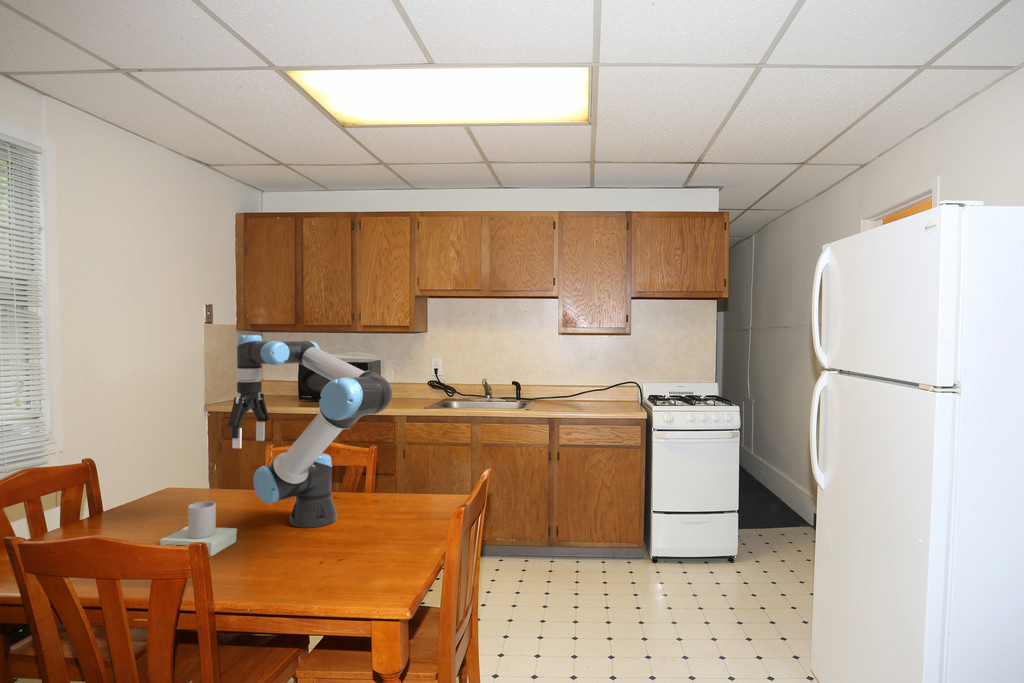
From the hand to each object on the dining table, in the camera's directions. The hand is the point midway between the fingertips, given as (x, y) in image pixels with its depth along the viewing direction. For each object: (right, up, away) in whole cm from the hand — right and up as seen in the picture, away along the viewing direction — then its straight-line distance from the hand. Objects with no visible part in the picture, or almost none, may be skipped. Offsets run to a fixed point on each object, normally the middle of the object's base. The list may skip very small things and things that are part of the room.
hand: (249, 444), depth 190 cm
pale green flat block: (-5, -27, -21) cm, 35 cm away
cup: (-5, -23, -21) cm, 32 cm away
